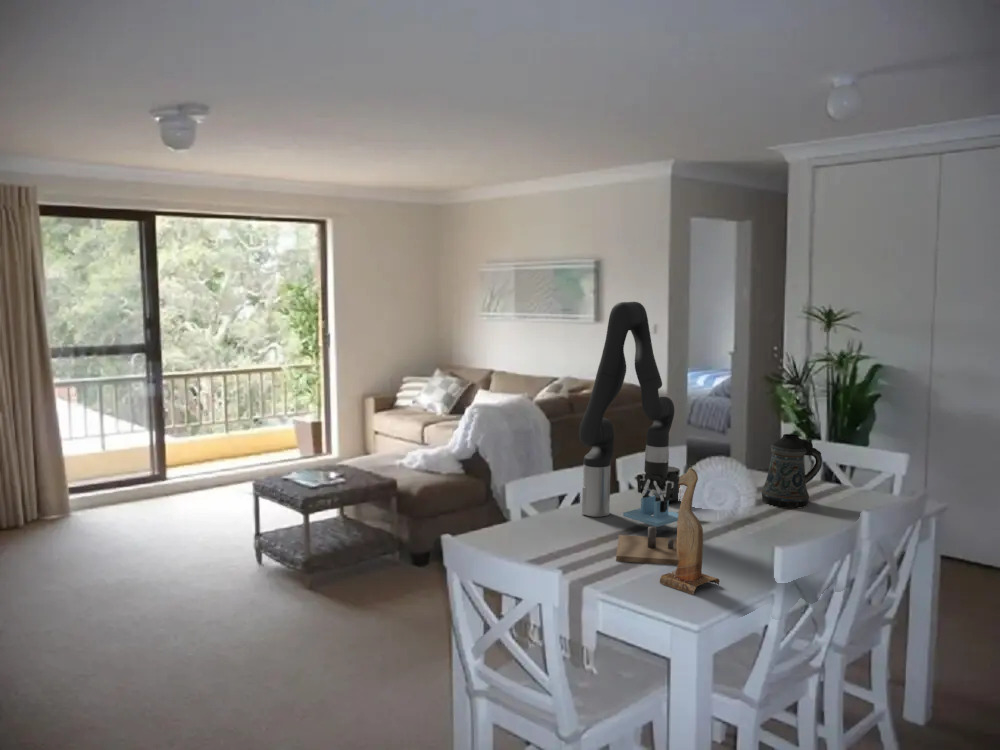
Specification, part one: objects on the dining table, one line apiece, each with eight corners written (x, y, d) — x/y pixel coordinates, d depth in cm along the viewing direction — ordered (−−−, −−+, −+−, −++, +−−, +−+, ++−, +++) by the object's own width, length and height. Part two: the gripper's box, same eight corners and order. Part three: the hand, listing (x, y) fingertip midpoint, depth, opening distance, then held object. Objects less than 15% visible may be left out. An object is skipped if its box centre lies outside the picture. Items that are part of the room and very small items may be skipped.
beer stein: (751, 498, 307) (754, 432, 304) (796, 494, 313) (799, 429, 310) (779, 510, 291) (782, 440, 289) (825, 506, 297) (829, 437, 294)
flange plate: (657, 527, 258) (658, 507, 257) (623, 516, 269) (624, 497, 268) (685, 518, 267) (686, 500, 266) (651, 508, 278) (652, 490, 277)
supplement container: (680, 498, 307) (681, 466, 306) (680, 505, 297) (681, 472, 296) (651, 496, 310) (652, 464, 308) (650, 503, 299) (651, 471, 298)
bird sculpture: (683, 575, 227) (682, 460, 224) (720, 585, 219) (720, 466, 216) (658, 585, 220) (658, 467, 217) (696, 596, 211) (696, 473, 208)
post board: (616, 560, 238) (616, 535, 237) (618, 539, 257) (619, 516, 256) (687, 565, 234) (688, 539, 233) (684, 543, 253) (685, 519, 253)
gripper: (631, 456, 268) (629, 506, 271) (667, 464, 257) (664, 516, 260) (647, 453, 273) (645, 502, 275) (682, 461, 262) (679, 512, 264)
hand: (654, 509), depth 267 cm, fingers closed on flange plate, 6 cm apart
